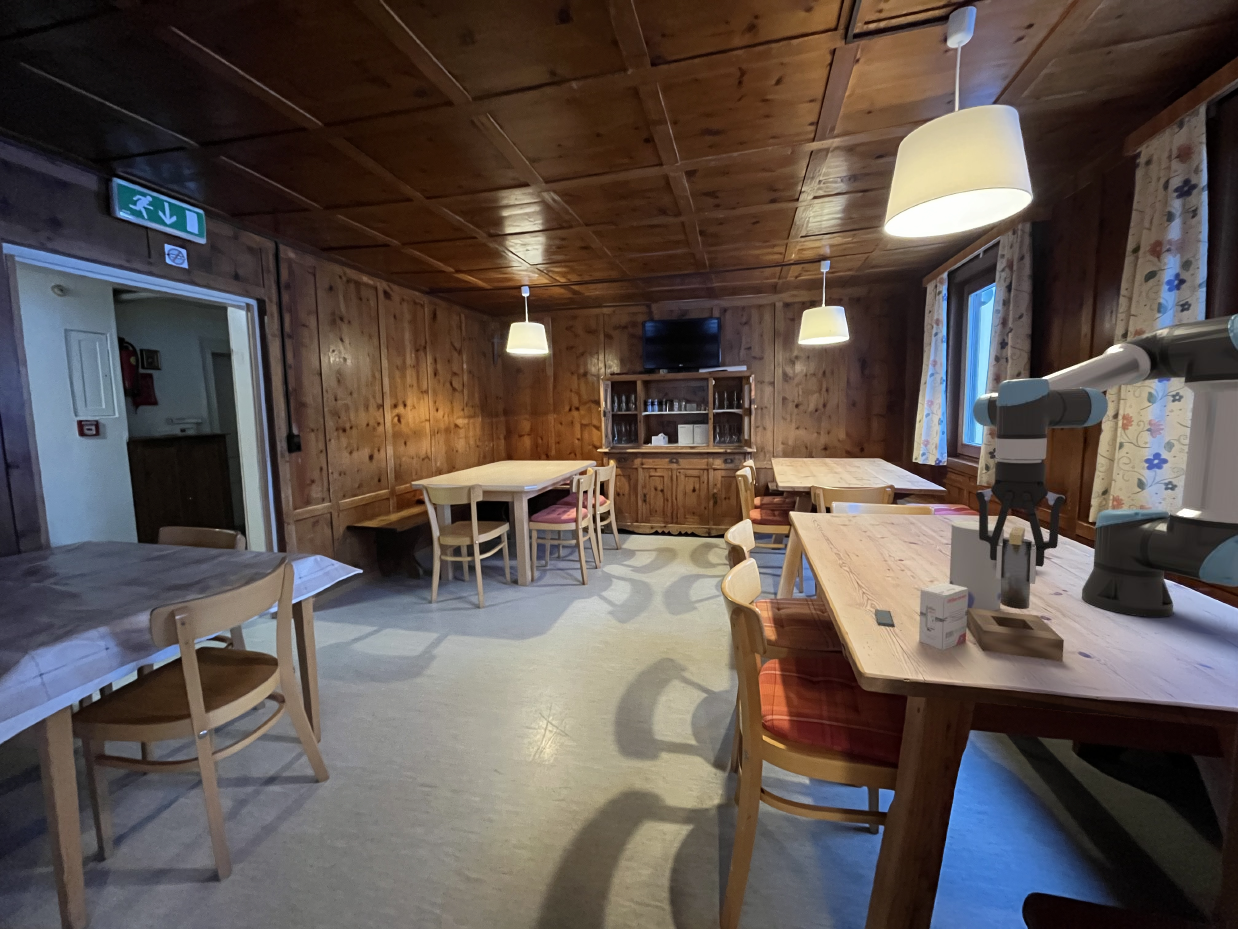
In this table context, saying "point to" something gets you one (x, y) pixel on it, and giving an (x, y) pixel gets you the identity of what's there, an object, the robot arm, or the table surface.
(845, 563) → the table surface
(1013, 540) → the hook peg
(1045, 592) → the table surface
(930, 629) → the ink box
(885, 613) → the mat
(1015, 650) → the block
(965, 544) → the container
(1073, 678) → the table surface
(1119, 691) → the table surface
